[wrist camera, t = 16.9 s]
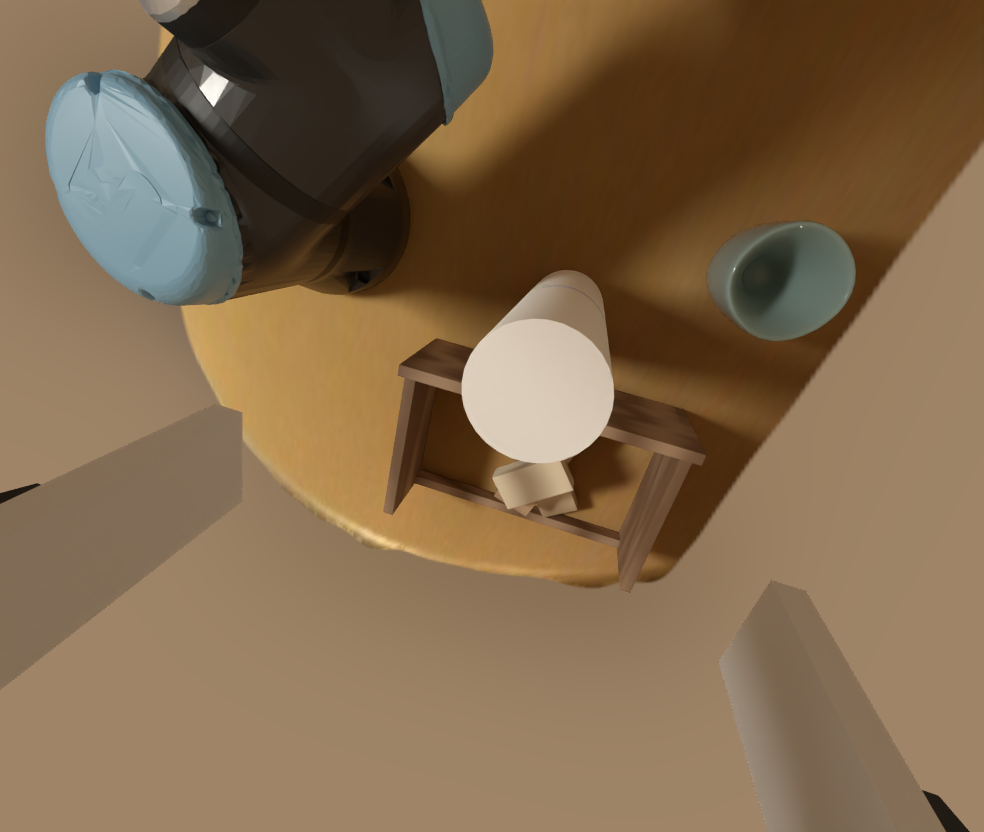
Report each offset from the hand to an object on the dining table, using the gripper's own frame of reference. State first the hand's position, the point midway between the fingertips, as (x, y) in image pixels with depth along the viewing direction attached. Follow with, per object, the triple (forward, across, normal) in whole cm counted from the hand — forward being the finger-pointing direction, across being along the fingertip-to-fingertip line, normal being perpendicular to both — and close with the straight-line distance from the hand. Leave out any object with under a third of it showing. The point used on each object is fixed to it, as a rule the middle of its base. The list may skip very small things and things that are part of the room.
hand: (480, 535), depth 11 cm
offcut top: (+32, +2, -16) cm, 36 cm away
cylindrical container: (+36, 0, 0) cm, 36 cm away
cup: (+36, +14, +7) cm, 40 cm away
